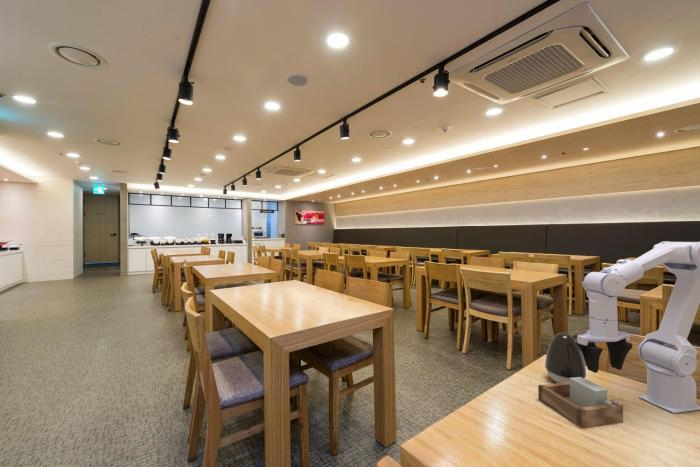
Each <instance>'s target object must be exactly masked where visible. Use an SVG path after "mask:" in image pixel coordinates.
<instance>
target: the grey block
mask: <svg viewBox="0 0 700 467" xmlns="http://www.w3.org/2000/svg"><path fill="white" fill-rule="evenodd" d="M604 400H608V389H607V388H604V387H603V386H600V385H598V384H597V383H594V382H592V381H590V380H589V379H586V378H582V377H574V378H570V401H572V402H574V403H575V404H577V405H579V406H580V407H590V406H597V405H604Z"/></svg>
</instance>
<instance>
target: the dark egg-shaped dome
mask: <svg viewBox="0 0 700 467" xmlns="http://www.w3.org/2000/svg"><path fill="white" fill-rule="evenodd" d="M577 336H579V335H578V334H577V333H575V334H573V335H571V334H569V333H567V332H559V333H557V334H555V335H554V337H553V338H552V339H551V341H550V343H549V345H548V349H547V350H546V351H547V352H546V356H545V362H544V367H545V369H546V372H547V374H548V376H549V378H550V379H551V380H552V381H554V382H555V383H563V382H570V378H574V377H582V378H584V379H586V377H587V367H586V362H585V359H584V356H583V354H582V352H581V351H580V349H579V347H578V346H577V345H576V341H577Z"/></svg>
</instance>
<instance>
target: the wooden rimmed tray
mask: <svg viewBox="0 0 700 467" xmlns="http://www.w3.org/2000/svg"><path fill="white" fill-rule="evenodd" d="M537 387H538V389H537V390H538V397H537V398H538V401H540V402H541V403H543V404H544V405H546V406H547V407H549V408H550V409H552V410H553V411H555V412H556V413H558V414H559V415H561V416H563V417H564V418H565V419H567V420H568V421H570V422H571V423H572V424H574V425H576V426H577V427H579V428H580V429H587V428H594V427H601V426H606V425H607V426H608V425H614V424H620V423H624V405H623V404H621V403H620V401H619V400H617V399H616V398H612V399H611V401H610V400H608V399H607V400H604V405H597V406H590V407H580V406H579V405H577V404H575V403H574V402H572V401H570V382H563V383H557V382H555V383H548V384H538V386H537Z"/></svg>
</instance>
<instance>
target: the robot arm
mask: <svg viewBox="0 0 700 467" xmlns="http://www.w3.org/2000/svg"><path fill="white" fill-rule="evenodd" d="M616 262H617V263H614V264H612V265H611V266H608V267H602V270H600V271H591V272H589V273H588V274H585V275H586V276H584V279H583V281H582V282H581V286H582V288H583V289H584V290H585V293H586V297H587V298H588V315H589V316H588V317H589V318H588V320H589V322H588V323H589V330H588V329H587V330H586V333H583V334H579V335H578V336H577V339H576V345H577V346H578V347H579V349H580V351H581V353H582V356H583V359H584V363H585V366H586V369H587V371H589V372H592V373H595V374H596V373H598V372H599V367H600V366H599V365H600V364H599V363H600V357H601V355H602V352H603V351H604V349H603V348H601V347H599V346H597V344H600V343H601V344H603V343H605V345H606V347H607V351H608V355H609V364H610V367H611V368H614V369H615V370H619V371H621V370H622V368H623V365H624V362H625V359H626V357H627V355H628V354H629V353H630V351H631V350H632V349H633V343H631V342H630V341H631V340H630V338H631V336H630V333H627V332H624V331H619V325H618V324H619V323H618V322H619V321H618V296H620V295H622V292H623V291H624V289H625V288H626V287H627V286H628V285H630V284H632V283H634V282H636V281H638V280H641V279H642V278H643V277H644V274H645V272H646V271H649V270H651V269H654V268H656V267H659V266H661V265H663V267H664V268H665V269H666V270H668V272H669V273H671V274H674V276H675V278H676V280H675V283H674V286H673V289H672V291H671V294H670V296H669V299H668V302H667V305H666V308H665V311H664V313H663V317H662V319H661V322H660V324H659V327H658V329H657V330H655V331H652V332H649V333H646V335H645V337H644V338H643V340H642V342H640V343H639V344H638V347H637V354H638V357H639V358H640V359H641V360H642V361H643V365H644V366H646V387H647V388H646V390H647V391H646V392H647V393H646V394H645V393H644V394H639V395H638V396H637V397H638V398H639V399H642V400H644V401H646V402H647V403H651V404H653V405H654V406H657V407H659V408H661V409H663V410H666V411H667V412H670V413H672V414H679V413H686V412H694V411H698V410H699V411H700V406H699V405H697V382H696V380H695V379H694V377H693V376H692V374H694V373H695V371H696V369H697V364H698V362H697V355H698V350H697V348H695V347H694V346H693V344H691V342H690V341H689V340H688V337H689V334H690V332H691V329H692V327H693V323H694V321H695V318H696V315H697V312H698V310H699V306H700V241H669V240H668V241H667V240H665V241H661V242H659V243H657V244H654V245H653V247H652V249H650V250H649V251H646V252H645V253H643V254H642V255H640V256H638V257H636V258H635V259H634V260H631V259H621V258H620V259H618V260H617V261H616Z"/></svg>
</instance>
